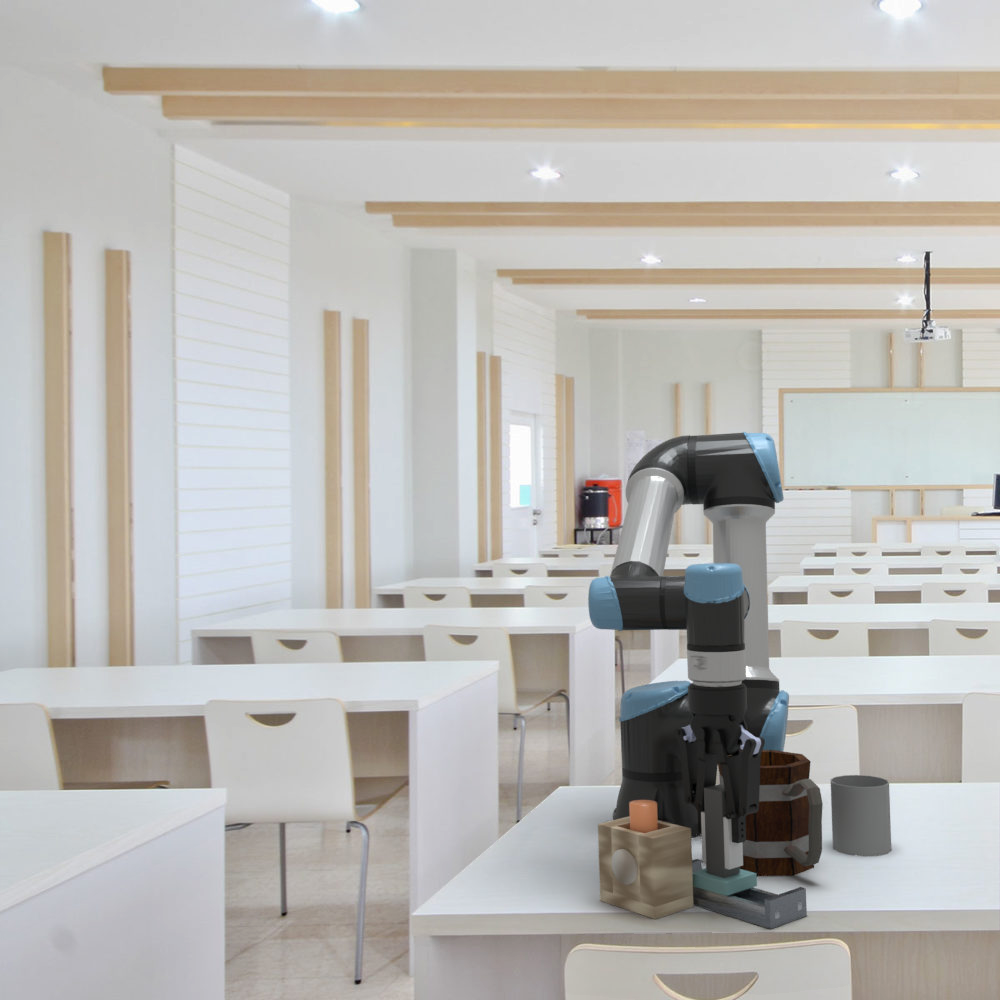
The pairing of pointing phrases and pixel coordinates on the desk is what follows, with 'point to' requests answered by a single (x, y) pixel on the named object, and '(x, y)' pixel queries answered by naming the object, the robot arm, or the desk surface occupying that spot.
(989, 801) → the desk surface
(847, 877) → the desk surface
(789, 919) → the rail track
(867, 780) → the cup
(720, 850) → the carriage
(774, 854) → the mug
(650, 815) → the orange cylinder
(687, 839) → the wooden box
